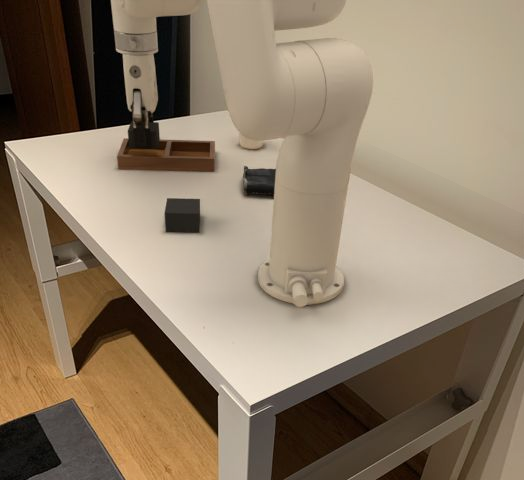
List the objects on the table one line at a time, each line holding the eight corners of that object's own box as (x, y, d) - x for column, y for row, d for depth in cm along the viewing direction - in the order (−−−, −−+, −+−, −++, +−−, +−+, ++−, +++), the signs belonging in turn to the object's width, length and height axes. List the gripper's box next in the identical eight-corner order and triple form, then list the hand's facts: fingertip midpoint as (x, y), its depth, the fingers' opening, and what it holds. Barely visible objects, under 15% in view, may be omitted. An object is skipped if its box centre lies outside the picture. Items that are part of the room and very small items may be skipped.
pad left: (157, 149, 110) (156, 131, 108) (129, 148, 110) (127, 130, 107) (159, 139, 114) (158, 122, 112) (132, 138, 114) (131, 121, 112)
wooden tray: (214, 171, 111) (214, 158, 110) (118, 169, 110) (116, 156, 108) (214, 153, 119) (214, 140, 117) (125, 150, 117) (123, 138, 116)
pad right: (199, 233, 91) (198, 213, 89) (165, 232, 91) (164, 212, 89) (200, 217, 96) (199, 198, 93) (168, 217, 95) (167, 197, 93)
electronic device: (244, 207, 103) (325, 199, 102) (241, 176, 100) (324, 168, 99) (245, 192, 111) (320, 184, 110) (242, 164, 108) (319, 156, 107)
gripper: (152, 53, 94) (160, 159, 105) (161, 32, 107) (167, 128, 119) (107, 51, 93) (120, 158, 105) (121, 31, 106) (131, 127, 118)
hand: (145, 141), depth 112 cm, fingers closed on pad left, 5 cm apart
